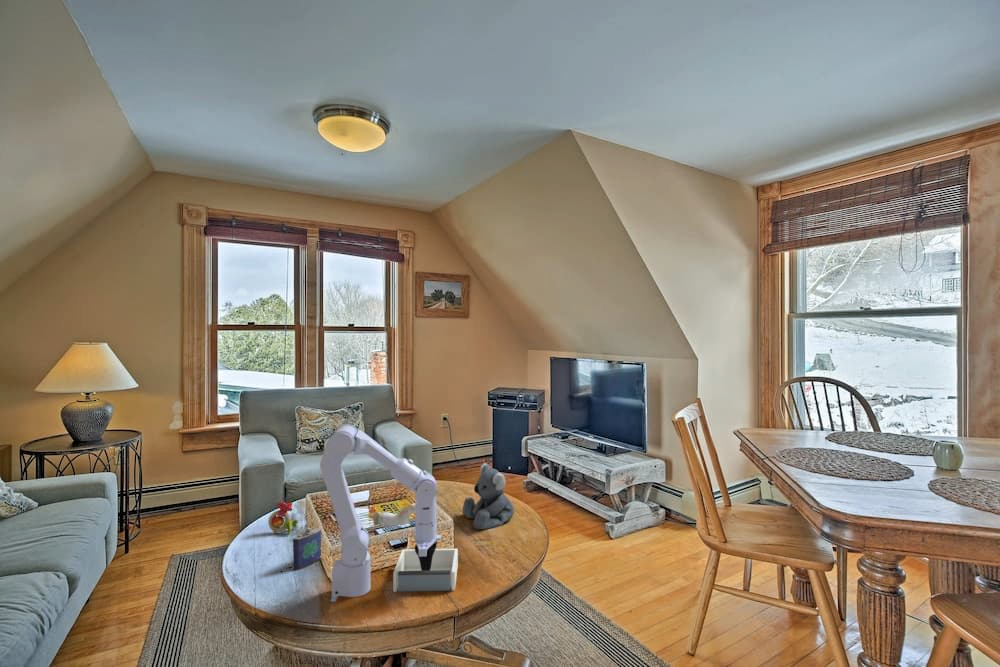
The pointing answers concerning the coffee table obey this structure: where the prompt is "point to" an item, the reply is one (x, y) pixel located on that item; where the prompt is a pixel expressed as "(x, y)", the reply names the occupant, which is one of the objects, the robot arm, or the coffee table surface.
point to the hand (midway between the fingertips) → (426, 570)
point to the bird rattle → (278, 521)
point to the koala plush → (489, 500)
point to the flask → (307, 548)
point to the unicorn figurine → (394, 516)
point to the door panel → (424, 580)
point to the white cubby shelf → (440, 561)
